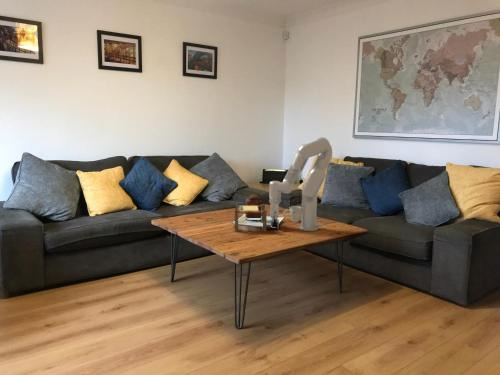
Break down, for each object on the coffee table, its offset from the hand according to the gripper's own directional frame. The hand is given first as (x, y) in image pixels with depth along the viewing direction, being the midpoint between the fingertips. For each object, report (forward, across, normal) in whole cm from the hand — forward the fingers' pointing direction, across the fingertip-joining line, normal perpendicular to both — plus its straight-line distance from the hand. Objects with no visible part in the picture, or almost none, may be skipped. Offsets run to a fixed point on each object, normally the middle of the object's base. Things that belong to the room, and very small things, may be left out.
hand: (274, 226), depth 275 cm
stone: (+1, 0, 0) cm, 1 cm away
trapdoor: (-12, 0, -17) cm, 21 cm away
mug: (+1, -18, +14) cm, 23 cm away
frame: (0, 0, -16) cm, 16 cm away
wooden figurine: (+1, -21, -13) cm, 25 cm away
